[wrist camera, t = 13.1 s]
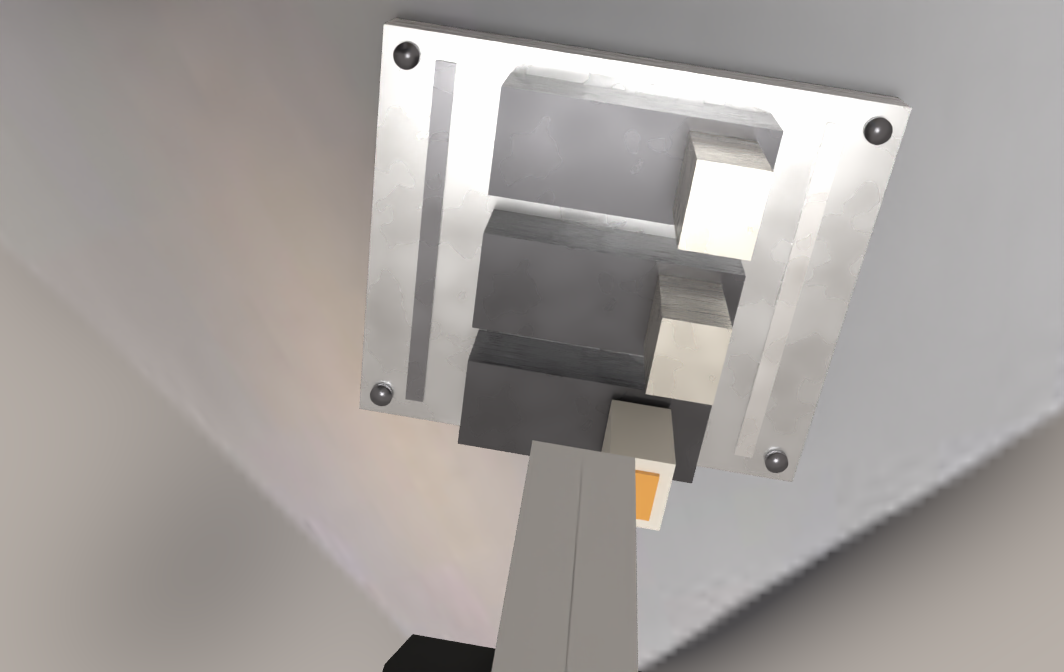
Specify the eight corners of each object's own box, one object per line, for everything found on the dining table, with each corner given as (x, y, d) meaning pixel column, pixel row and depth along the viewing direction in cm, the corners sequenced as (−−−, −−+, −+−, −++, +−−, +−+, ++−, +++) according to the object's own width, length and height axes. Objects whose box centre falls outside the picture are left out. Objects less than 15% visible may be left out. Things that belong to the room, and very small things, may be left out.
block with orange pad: (599, 461, 38) (596, 523, 34) (612, 399, 37) (610, 456, 33) (656, 470, 38) (659, 533, 34) (671, 409, 37) (676, 467, 33)
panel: (370, 387, 44) (312, 498, 36) (396, 18, 36) (329, 51, 28) (785, 457, 43) (821, 586, 35) (897, 97, 36) (976, 154, 28)
